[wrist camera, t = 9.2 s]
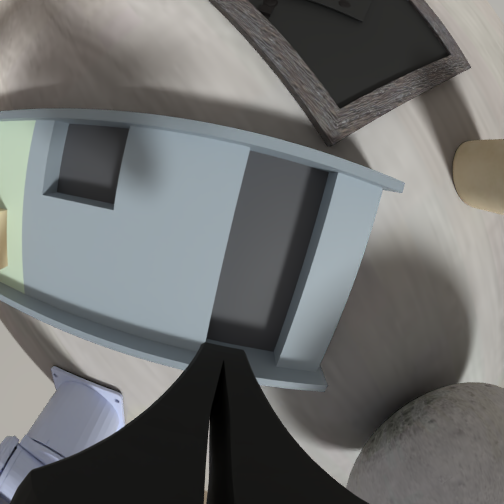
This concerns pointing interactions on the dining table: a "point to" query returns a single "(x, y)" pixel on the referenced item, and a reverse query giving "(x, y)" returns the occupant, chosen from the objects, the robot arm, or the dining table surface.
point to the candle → (480, 174)
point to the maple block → (3, 238)
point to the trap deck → (182, 236)
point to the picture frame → (348, 54)
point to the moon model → (437, 450)
